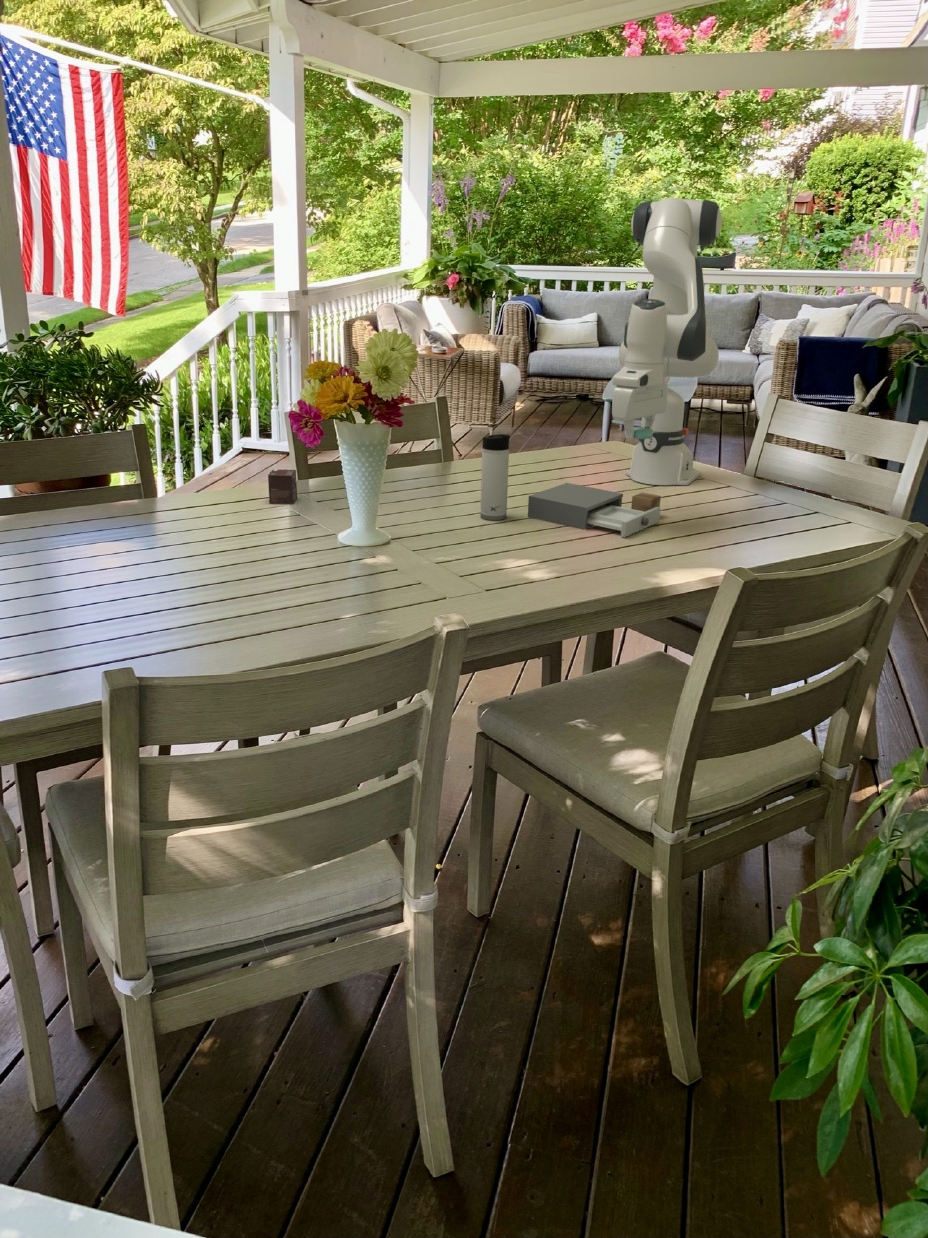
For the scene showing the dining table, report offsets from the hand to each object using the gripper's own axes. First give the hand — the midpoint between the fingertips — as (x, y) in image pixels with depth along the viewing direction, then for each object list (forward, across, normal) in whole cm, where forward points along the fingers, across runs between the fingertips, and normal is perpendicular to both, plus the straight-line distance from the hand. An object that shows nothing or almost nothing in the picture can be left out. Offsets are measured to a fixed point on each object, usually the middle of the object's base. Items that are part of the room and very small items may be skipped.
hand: (638, 436), depth 234 cm
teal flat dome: (0, 0, 0) cm, 0 cm away
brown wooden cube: (+20, -7, 0) cm, 21 cm away
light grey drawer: (+20, +4, -2) cm, 21 cm away
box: (+21, +40, -76) cm, 88 cm away
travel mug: (+21, +17, -27) cm, 38 cm away
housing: (+20, +4, -13) cm, 24 cm away
